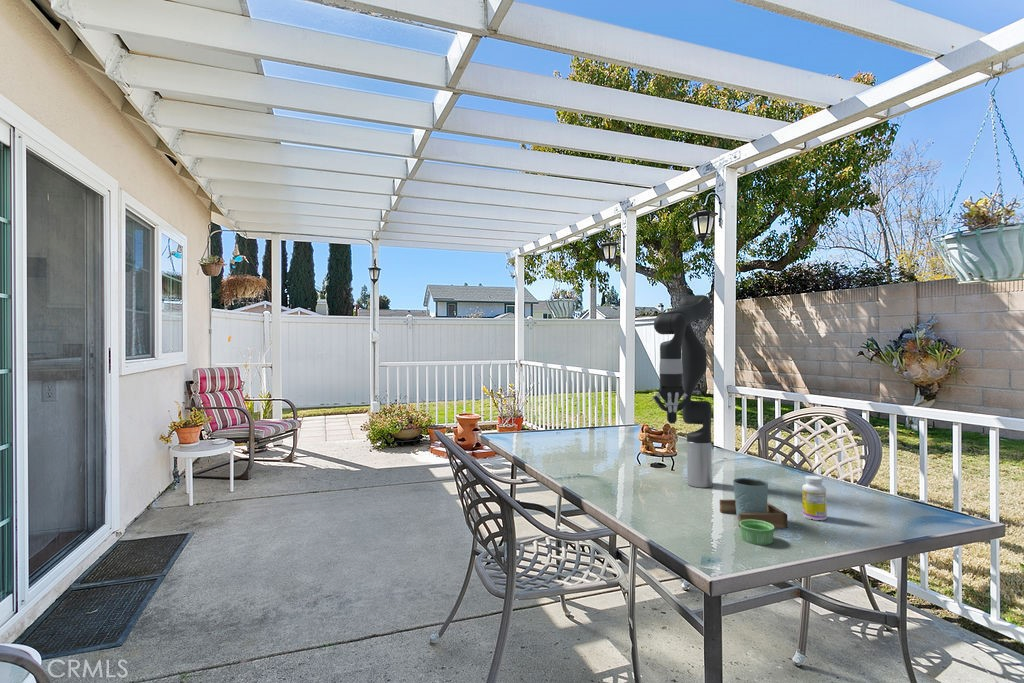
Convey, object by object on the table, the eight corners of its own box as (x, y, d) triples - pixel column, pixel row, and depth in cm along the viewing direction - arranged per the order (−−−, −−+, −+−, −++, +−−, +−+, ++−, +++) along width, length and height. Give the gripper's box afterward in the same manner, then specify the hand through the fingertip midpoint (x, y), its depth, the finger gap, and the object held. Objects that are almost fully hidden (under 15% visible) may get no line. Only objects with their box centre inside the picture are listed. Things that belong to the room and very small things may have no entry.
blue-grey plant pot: (750, 526, 155) (750, 487, 155) (726, 516, 164) (725, 479, 164) (776, 522, 158) (775, 483, 158) (750, 512, 168) (750, 476, 168)
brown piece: (719, 511, 169) (719, 499, 169) (762, 511, 169) (762, 499, 169) (740, 528, 154) (740, 514, 154) (787, 527, 154) (787, 514, 154)
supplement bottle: (806, 512, 167) (805, 473, 167) (829, 517, 162) (828, 477, 162) (799, 517, 162) (799, 477, 162) (823, 522, 157) (822, 481, 158)
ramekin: (749, 532, 151) (749, 517, 151) (780, 541, 143) (780, 525, 143) (733, 539, 145) (733, 523, 145) (764, 548, 138) (764, 532, 138)
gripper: (686, 371, 177) (687, 421, 176) (648, 372, 177) (649, 421, 176) (694, 372, 169) (695, 424, 169) (654, 373, 169) (655, 425, 169)
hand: (671, 423), depth 173 cm, fingers closed
